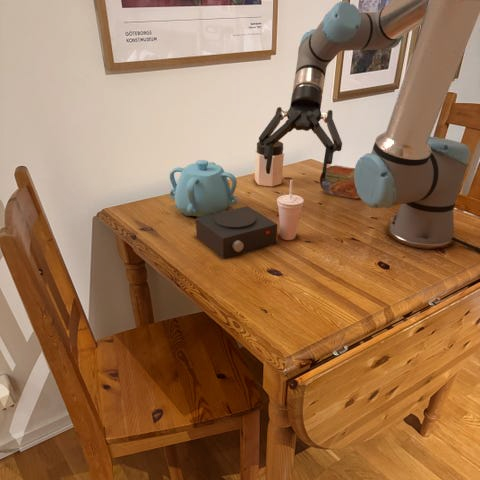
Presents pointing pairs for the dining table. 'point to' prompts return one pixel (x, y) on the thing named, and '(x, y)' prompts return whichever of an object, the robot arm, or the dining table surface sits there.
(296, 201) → the smoothie
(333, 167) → the tin
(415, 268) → the dining table surface
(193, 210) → the decorative pot
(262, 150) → the jar
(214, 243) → the hot plate
